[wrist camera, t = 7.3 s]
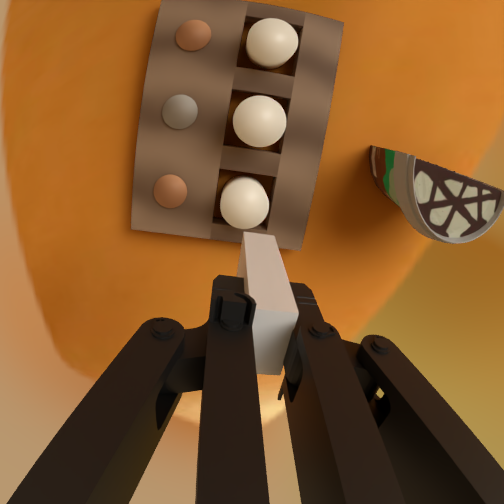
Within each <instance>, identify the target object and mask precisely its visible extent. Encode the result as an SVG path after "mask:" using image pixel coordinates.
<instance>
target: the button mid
mask: <svg viewBox="0 0 504 504" xmlns="http://www.w3.org/2000/svg"><path fill="white" fill-rule="evenodd" d="M233 127H234V130H235V132H236V134H237V136H238V137H239V138H240V139H241V140H242V141H243V142H245V143H246V144H248V145H251V146H254V147H266V146H269V145H271V144H273V143H275V142H276V141H278V140H279V139H280V138H281V136H282V135H283V133H284V131H285V128H286V115H285V112H284V110H283V108H282V107H281V105H280V104H279V103H278V102H277V101H275V100H274V99H272V98H270V97H267V96H253V97H249V98H247V99H245V100H244V101H243V102H241V103H240V104H239V105H238V107H237V108H236V110H235V112H234V116H233Z"/></svg>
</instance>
